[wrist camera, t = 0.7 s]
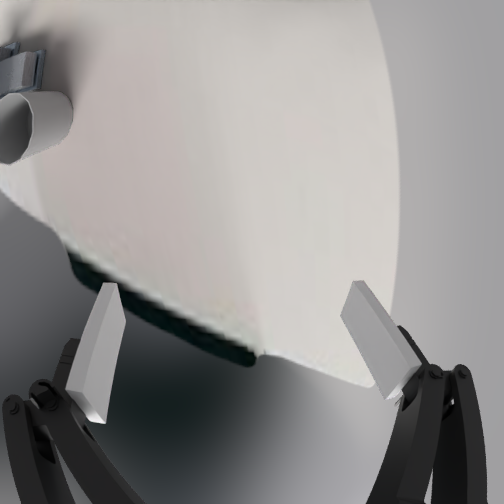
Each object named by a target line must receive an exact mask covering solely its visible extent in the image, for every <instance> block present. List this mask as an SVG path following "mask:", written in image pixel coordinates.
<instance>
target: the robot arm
mask: <svg viewBox="0 0 504 504" xmlns="http://www.w3.org/2000/svg"><path fill="white" fill-rule="evenodd" d="M340 316H341V318H342V320H343V322H344V324H345V325H346V327H347V329H348V331H349V333H350V335H351V336H352V338H353V340H354V342H355V344H356V346H357V347H358V349H359V351H360V353H361V355H362V357H363V359H364V361H365V363H366V364H367V366H368V368H369V370H370V372H371V374H372V376H373V378H374V380H375V382H376V384H377V386H378V388H379V390H380V392H381V394H382V396H383V398H384V400H387V399H390V398H393V397H396V396H397V395H398V393H399V392H400V391H401V390H402V392H403V395H402V397H401V398H400V399H399V400H398V401H397V402H396V403H395V406H397V405H398V404H399V403H400V405H399V409H398V413H397V417H396V421H395V425H394V428H393V432H392V435H391V438H390V442H389V445H388V448H387V451H386V454H385V457H384V460H383V463H382V465H381V469H380V471H379V474H378V476H377V479H376V481H375V484H374V486H373V489H372V491H371V493H370V496H369V498H368V500H367V502H366V504H426V503H424V498H425V494H426V491H427V488H428V484H429V480H430V476H431V473H432V468H433V479H432V496H431V504H488V503H487V469H486V456H485V455H486V454H485V444H484V436H483V429H482V422H481V416H480V410H479V405H478V400H477V396H476V391H475V387H474V383H473V379H472V375H471V372H470V370H469V369H468V368H467V367H466V366H464V365H462V364H458V365H457V366H455V368H454V369H453V370H452V371H443V370H442V369H441V368H440V367H439V366H437V365H435V364H429V363H428V361H427V360H426V358H425V356H424V355H423V353H422V352H421V350H420V349H419V348H418V346H417V345H416V343H415V342H414V340H413V339H412V337H411V336H410V334H409V333H408V332H407V331H406V330H405V329H404V328H403V327H401V326H396V325H395V323H394V322H393V320H392V319H391V317H390V316H389V314H388V313H387V312H386V310H385V309H384V307H383V306H382V305H381V303H380V302H379V301H378V299H377V298H376V297H375V295H374V294H373V292H372V291H371V290H370V288H369V287H368V286H367V284H366V283H365V282H364V281H353V282H352V285H351V288H350V291H349V294H348V296H347V299H346V302H345V304H344V307H343V310H342V312H341V315H340ZM125 323H126V320H125V316H124V312H123V308H122V304H121V300H120V296H119V292H118V287H117V283H103V285H102V288H101V290H100V292H99V295H98V297H97V299H96V302H95V304H94V307H93V309H92V312H91V314H90V317H89V319H88V322H87V324H86V327H85V330H84V332H83V335H82V338H81V339H74V338H71V339H70V340H69V341H68V343H67V344H66V345H65V346H64V349H63V352H62V354H61V355H62V356H61V357H60V360H59V363H58V366H57V369H56V372H55V375H54V378H53V381H52V382H51V381H49V380H47V379H40V380H37V381H36V382H34V383H33V384H32V386H31V387H30V390H29V399H30V400H28V401H23V400H22V398H20V396H18V395H10V396H8V397H7V398H6V399H5V400H4V402H3V407H2V411H3V422H4V431H5V438H6V443H7V450H8V455H9V460H10V465H11V468H12V473H13V477H14V481H15V485H16V488H17V492H18V495H19V498H20V501H21V504H75V501H74V499H73V497H72V494H71V492H70V489H69V487H68V484H67V481H66V478H65V476H64V473H63V470H62V467H61V464H60V461H59V457H58V454H57V451H56V447H55V444H56V446H57V448H58V450H59V452H60V454H61V456H62V457H63V459H64V461H65V463H66V464H67V466H68V468H69V469H70V471H71V473H72V474H73V476H74V477H75V479H76V481H77V482H78V484H79V485H80V486H81V488H82V489H83V491H84V492H85V494H86V495H87V497H88V498H89V499H90V501H91V502H92V503H93V504H146V503H145V502H144V501H143V500H142V499H141V497H140V496H139V495H138V494H137V493H136V492H135V491H134V490H133V488H132V487H131V486H130V485H129V484H128V483H127V481H126V480H125V479H124V478H123V476H122V475H121V474H120V473H119V471H118V470H117V469H116V468H115V466H114V465H113V464H112V462H111V461H110V460H109V458H108V457H107V455H106V454H105V453H104V451H103V450H102V448H101V447H100V445H99V444H98V442H97V441H96V440H95V438H94V436H93V435H92V433H91V432H90V430H89V428H88V427H87V425H86V424H85V418H86V416H87V418H88V419H89V420H90V421H92V422H98V423H104V424H105V423H106V417H107V411H108V404H109V398H110V392H111V387H112V381H113V376H114V371H115V366H116V361H117V357H118V352H119V348H120V343H121V339H122V335H123V331H124V327H125ZM452 399H454V404H453V405H452V402H451V400H452Z"/></svg>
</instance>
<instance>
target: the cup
mask: <svg viewBox="0 0 504 504" xmlns="http://www.w3.org/2000/svg"><path fill="white" fill-rule="evenodd" d="M72 121H73V108H72V106H71V103H70V100H69V98H68V97H67V96H65V95H64V94H63V93H62V92H57V91H37V92H19V93H9V94H7V95H6V96H4V97H3V98H2V99H0V164H4V165H12V164H14V163H16V162H18V161H20V160H23V159H25V158H27V157H29V156H32V155H34V154H36V153H39V152H41V151H44V150H46V149H49V148H51V147H53V146H56V145H58V144H60V143H61V142H62V140H63V139H64V138H65V137H66V136H67V135H68V132H69V130H70V127H71V125H72Z"/></svg>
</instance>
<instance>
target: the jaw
mask: <svg viewBox="0 0 504 504" xmlns="http://www.w3.org/2000/svg"><path fill="white" fill-rule="evenodd" d="M10 54H11V48H3V47H0V99H2V98H3V97H4V96H5V94H8V93H11V92H14V91H17V90H20V89H24V88H27V87H31V86H33V82H34V73H35V66H36V59H37V53H33V52H27V51H26V52H23V53H20V54H18V55H15V56H13V57H10Z"/></svg>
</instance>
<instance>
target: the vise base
mask: <svg viewBox="0 0 504 504" xmlns="http://www.w3.org/2000/svg"><path fill="white" fill-rule="evenodd" d="M19 46H20V43H19V42H15V43H12V44H10V45H8V46H5V47H3V48H11V54H10V57H13V56H15V55H18V51H19ZM45 52H46V50H38V51H35V52H33V53H37V59H36V66H35V73H34V82H33V86H31V87H27V88H24V89H20V90H17V91H14V92H11V93H19V92H29V91H32V90H36V89H40V88H41V81H42V72H43V65H44V58H45ZM8 94H9V93H8ZM6 95H7V94H5V96H6Z"/></svg>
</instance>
